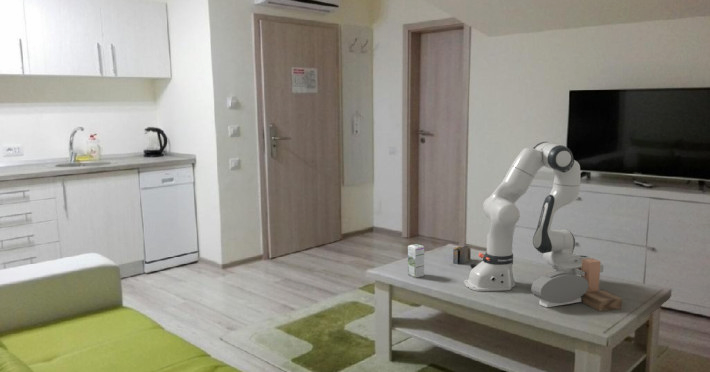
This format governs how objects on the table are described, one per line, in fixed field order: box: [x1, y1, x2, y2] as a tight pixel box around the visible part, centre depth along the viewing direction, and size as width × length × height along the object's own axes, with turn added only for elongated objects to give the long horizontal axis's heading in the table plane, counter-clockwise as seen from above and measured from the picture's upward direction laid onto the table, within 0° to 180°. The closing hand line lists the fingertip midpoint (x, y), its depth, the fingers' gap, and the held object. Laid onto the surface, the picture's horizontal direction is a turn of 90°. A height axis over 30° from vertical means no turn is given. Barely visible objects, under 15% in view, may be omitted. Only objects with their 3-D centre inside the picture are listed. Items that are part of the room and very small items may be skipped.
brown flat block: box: [452, 245, 472, 265], centre depth 278 cm, size 11×3×10 cm, turn 133°
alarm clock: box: [530, 270, 589, 308], centre depth 218 cm, size 23×6×13 cm, turn 109°
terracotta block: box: [580, 257, 602, 292], centre depth 226 cm, size 5×5×13 cm
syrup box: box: [407, 243, 425, 279], centre depth 255 cm, size 6×6×14 cm
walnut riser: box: [582, 289, 623, 312], centre depth 216 cm, size 10×10×4 cm
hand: (591, 273), depth 225 cm, fingers closed on terracotta block, 5 cm apart
